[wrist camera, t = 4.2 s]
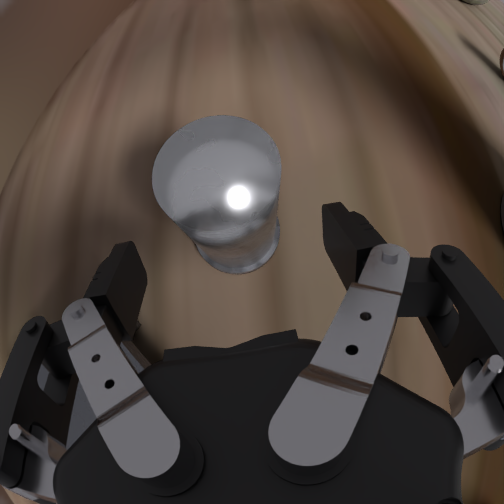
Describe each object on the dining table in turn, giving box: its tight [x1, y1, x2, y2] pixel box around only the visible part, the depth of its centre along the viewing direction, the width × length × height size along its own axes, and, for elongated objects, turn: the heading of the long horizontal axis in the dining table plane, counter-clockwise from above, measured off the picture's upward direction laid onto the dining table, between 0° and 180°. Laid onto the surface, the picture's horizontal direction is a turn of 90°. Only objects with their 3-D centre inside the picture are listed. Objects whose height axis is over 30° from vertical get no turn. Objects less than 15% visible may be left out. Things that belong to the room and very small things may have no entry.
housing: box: [152, 115, 281, 274], centre depth 16 cm, size 6×6×10 cm
